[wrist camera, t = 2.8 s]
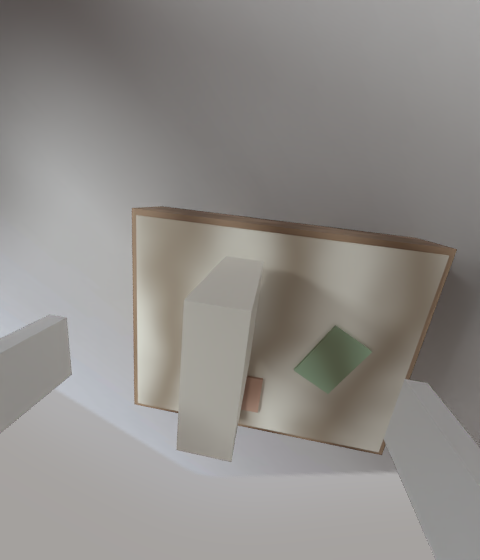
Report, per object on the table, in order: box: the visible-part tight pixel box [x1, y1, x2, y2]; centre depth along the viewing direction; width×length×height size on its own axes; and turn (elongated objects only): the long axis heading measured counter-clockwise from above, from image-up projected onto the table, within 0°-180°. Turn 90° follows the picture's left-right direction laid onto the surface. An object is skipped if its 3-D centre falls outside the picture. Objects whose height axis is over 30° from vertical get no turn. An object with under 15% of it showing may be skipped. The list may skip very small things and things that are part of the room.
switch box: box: [132, 206, 457, 455], centre depth 21 cm, size 20×16×5 cm
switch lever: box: [177, 256, 264, 462], centre depth 14 cm, size 2×13×9 cm, turn 173°
